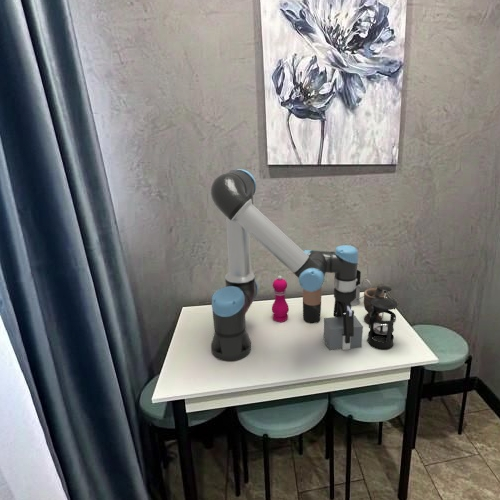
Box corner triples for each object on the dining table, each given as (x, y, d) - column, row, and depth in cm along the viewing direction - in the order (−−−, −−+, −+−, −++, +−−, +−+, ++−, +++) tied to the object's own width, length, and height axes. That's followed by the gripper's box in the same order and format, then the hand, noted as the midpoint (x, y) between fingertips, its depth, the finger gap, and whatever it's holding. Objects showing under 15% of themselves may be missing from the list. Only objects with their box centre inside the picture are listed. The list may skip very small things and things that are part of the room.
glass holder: (348, 295, 171) (349, 266, 166) (374, 305, 160) (377, 275, 155) (336, 301, 166) (338, 272, 160) (363, 312, 155) (365, 281, 150)
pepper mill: (289, 314, 156) (289, 273, 149) (287, 323, 150) (287, 280, 143) (273, 313, 158) (272, 271, 151) (270, 321, 151) (269, 278, 145)
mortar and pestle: (393, 327, 143) (398, 282, 136) (374, 332, 141) (378, 286, 134) (375, 314, 153) (379, 271, 147) (358, 318, 151) (361, 275, 144)
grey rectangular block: (329, 350, 131) (330, 329, 128) (323, 338, 138) (324, 317, 135) (361, 347, 132) (363, 326, 129) (353, 335, 139) (354, 315, 136)
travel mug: (319, 314, 155) (321, 272, 148) (321, 324, 148) (322, 280, 141) (302, 314, 156) (302, 272, 149) (302, 323, 149) (303, 280, 142)
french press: (400, 347, 131) (407, 291, 123) (378, 353, 128) (383, 296, 120) (380, 331, 141) (385, 278, 133) (359, 336, 139) (363, 282, 131)
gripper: (366, 300, 118) (362, 358, 125) (345, 275, 137) (342, 326, 145) (344, 302, 117) (341, 360, 125) (326, 277, 137) (324, 328, 144)
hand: (342, 342), depth 135 cm, fingers closed on grey rectangular block, 8 cm apart
